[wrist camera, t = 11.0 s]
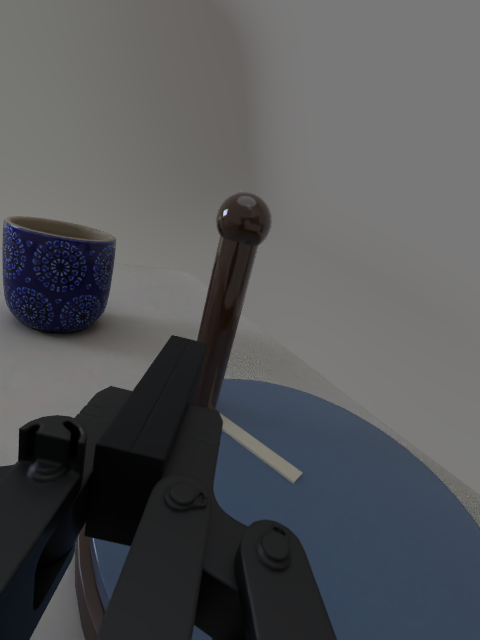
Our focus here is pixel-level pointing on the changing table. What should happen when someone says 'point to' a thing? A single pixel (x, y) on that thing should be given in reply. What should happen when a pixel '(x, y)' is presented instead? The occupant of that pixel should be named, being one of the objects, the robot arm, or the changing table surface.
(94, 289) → the planter
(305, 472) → the blue disc with post
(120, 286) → the changing table surface
